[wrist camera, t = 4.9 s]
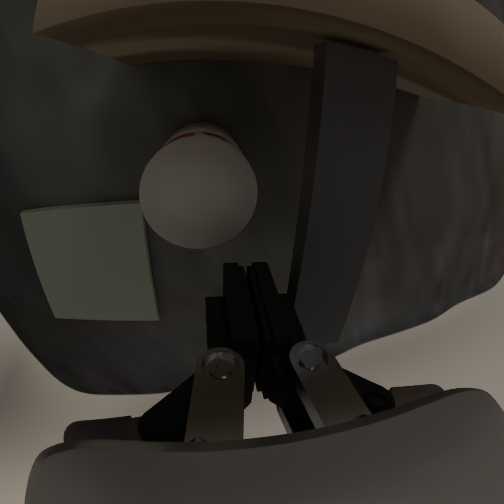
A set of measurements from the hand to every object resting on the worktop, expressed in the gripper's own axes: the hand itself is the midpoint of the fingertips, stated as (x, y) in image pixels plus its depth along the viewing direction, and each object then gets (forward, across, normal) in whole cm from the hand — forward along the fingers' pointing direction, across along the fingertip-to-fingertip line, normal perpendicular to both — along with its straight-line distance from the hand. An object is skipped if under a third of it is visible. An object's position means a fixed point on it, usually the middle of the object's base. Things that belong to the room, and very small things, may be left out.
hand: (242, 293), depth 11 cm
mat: (+7, +10, +3) cm, 12 cm away
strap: (0, -3, -4) cm, 5 cm away
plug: (+7, +2, -4) cm, 8 cm away
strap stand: (+7, -3, -11) cm, 14 cm away
